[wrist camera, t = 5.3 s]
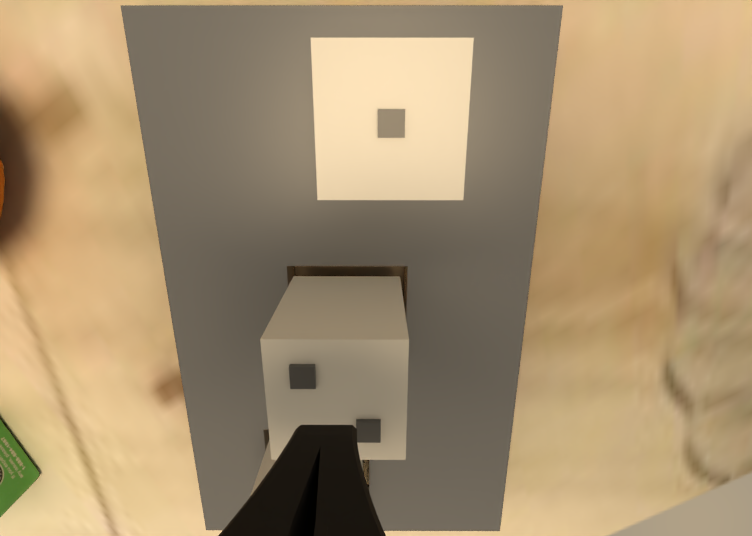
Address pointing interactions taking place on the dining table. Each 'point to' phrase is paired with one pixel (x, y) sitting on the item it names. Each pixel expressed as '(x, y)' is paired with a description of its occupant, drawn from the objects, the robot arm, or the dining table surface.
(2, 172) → the fruit
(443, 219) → the keypad board
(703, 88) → the dining table surface
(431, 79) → the key one
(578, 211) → the dining table surface
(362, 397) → the key two
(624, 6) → the dining table surface
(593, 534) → the dining table surface
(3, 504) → the ink box
